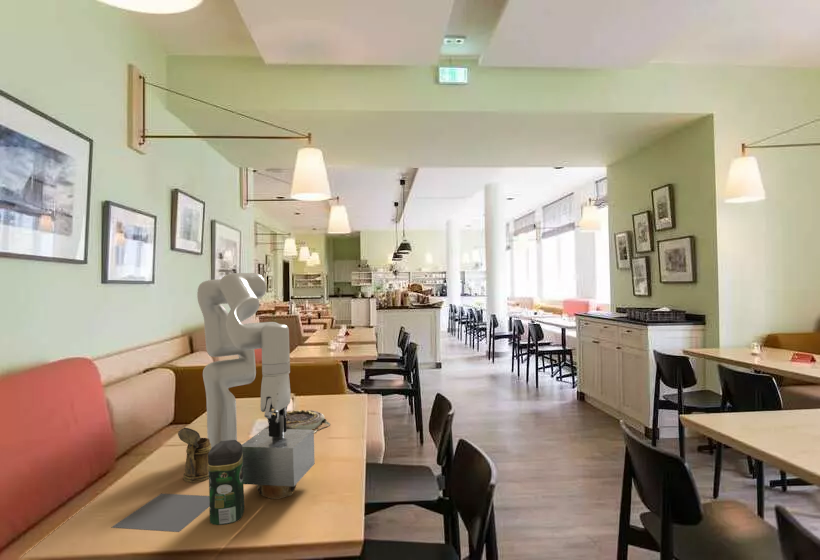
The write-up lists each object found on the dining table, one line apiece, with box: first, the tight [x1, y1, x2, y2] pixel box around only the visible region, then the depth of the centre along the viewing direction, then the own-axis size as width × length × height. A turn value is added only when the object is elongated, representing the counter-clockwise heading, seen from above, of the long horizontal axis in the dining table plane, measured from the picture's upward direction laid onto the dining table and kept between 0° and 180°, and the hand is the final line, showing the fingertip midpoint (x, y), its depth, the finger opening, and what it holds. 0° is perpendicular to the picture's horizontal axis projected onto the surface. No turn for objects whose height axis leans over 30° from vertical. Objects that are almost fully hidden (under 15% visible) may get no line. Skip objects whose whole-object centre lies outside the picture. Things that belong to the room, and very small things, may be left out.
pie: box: [285, 409, 331, 434], centre depth 193 cm, size 28×27×5 cm
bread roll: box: [256, 484, 297, 500], centre depth 133 cm, size 10×10×8 cm
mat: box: [110, 492, 210, 533], centre depth 122 cm, size 18×18×1 cm
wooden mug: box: [177, 427, 211, 484], centre depth 141 cm, size 9×14×18 cm, turn 1°
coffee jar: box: [208, 440, 245, 526], centre depth 119 cm, size 10×8×19 cm
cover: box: [241, 415, 316, 486], centre depth 133 cm, size 15×15×16 cm
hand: (277, 433), depth 133 cm, fingers closed on cover, 3 cm apart
